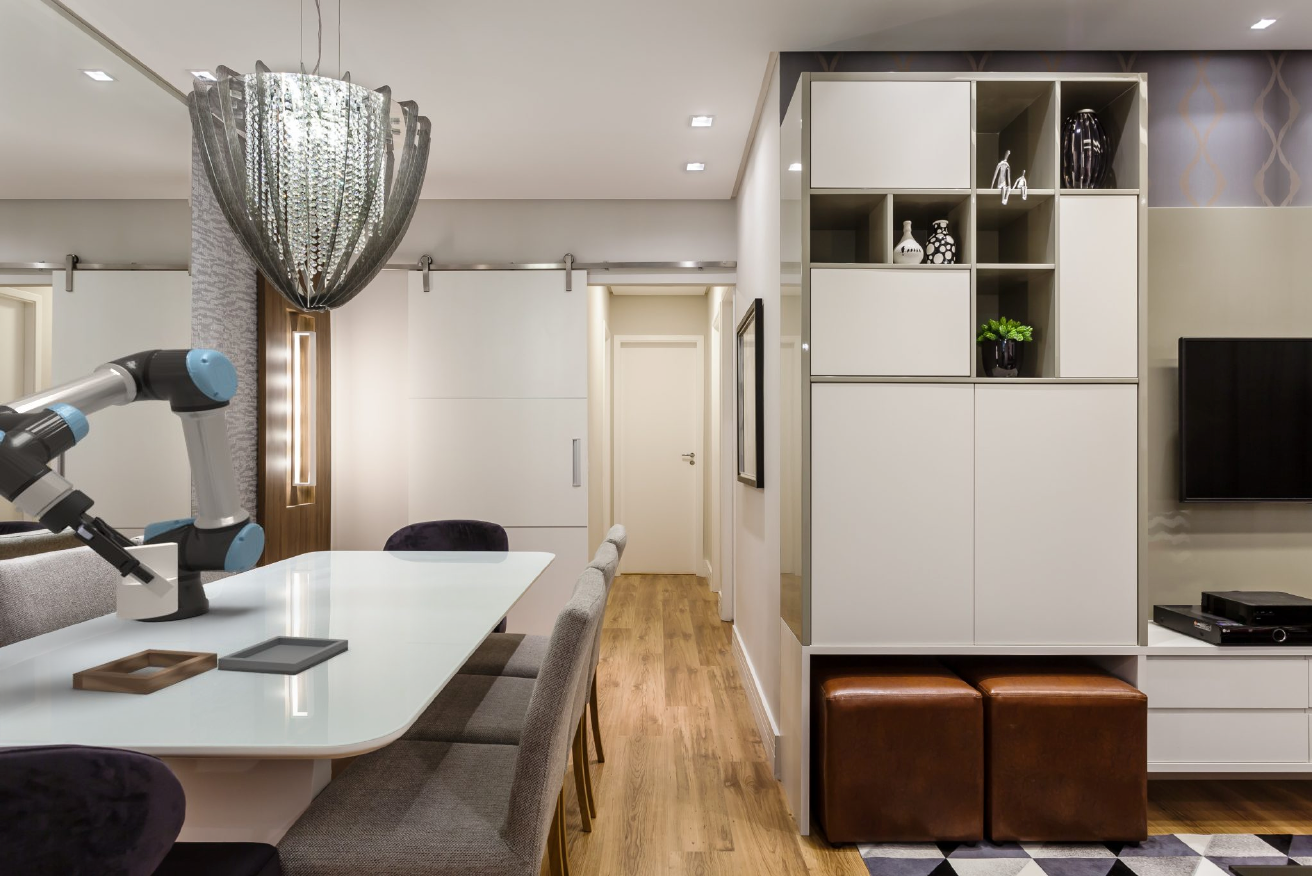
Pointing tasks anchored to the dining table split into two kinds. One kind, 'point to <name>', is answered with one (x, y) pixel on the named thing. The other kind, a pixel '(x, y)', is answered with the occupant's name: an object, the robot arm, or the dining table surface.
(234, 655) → the charcoal tray
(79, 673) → the walnut collar
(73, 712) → the dining table surface
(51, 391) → the robot arm
